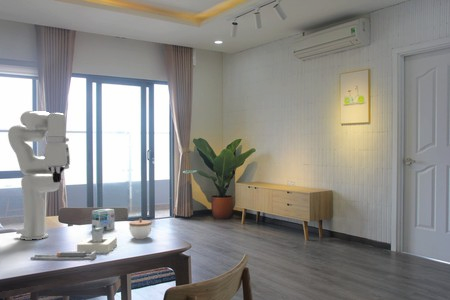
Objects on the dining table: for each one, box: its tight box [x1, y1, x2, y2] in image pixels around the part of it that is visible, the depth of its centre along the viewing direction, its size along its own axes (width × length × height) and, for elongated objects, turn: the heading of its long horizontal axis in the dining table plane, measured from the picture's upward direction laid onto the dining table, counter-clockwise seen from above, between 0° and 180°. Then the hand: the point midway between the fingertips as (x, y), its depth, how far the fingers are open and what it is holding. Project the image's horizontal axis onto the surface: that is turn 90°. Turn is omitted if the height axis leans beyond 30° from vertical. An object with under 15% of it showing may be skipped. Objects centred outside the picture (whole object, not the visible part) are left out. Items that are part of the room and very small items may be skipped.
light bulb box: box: [91, 208, 116, 231], centre depth 219 cm, size 11×7×11 cm, turn 148°
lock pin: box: [56, 251, 87, 257], centre depth 161 cm, size 11×2×2 cm, turn 89°
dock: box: [76, 237, 118, 254], centre depth 176 cm, size 13×13×4 cm
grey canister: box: [91, 227, 104, 243], centre depth 176 cm, size 4×4×9 cm
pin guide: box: [30, 251, 97, 261], centre depth 161 cm, size 25×4×2 cm, turn 89°
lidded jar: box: [129, 218, 152, 240], centre depth 198 cm, size 11×11×9 cm
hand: (56, 182), depth 179 cm, fingers closed
